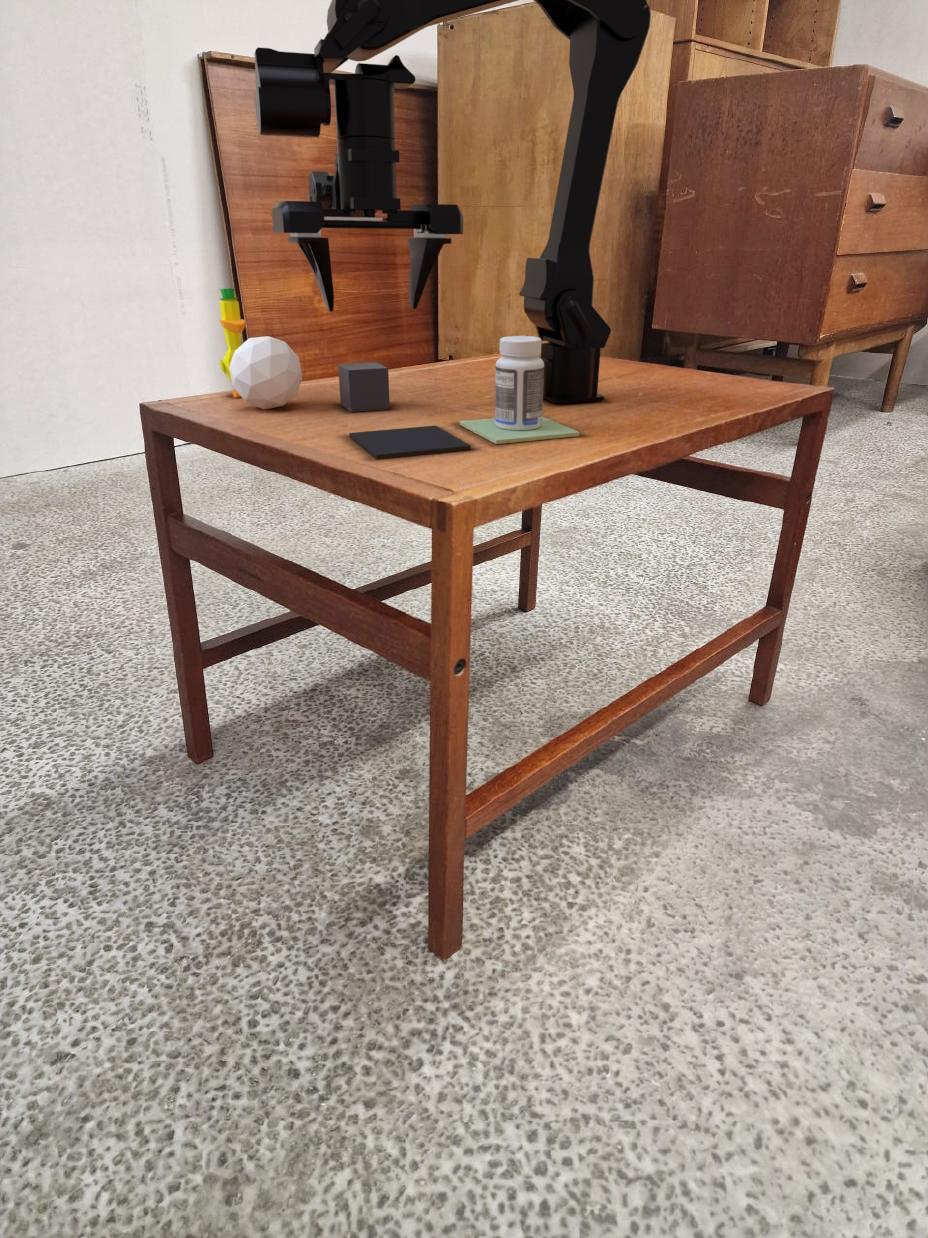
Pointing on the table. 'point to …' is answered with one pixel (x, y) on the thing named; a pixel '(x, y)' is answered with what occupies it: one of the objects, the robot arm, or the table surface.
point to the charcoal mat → (408, 442)
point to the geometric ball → (265, 372)
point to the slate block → (364, 386)
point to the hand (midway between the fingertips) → (372, 309)
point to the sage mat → (518, 431)
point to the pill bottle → (519, 384)
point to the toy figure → (230, 329)
